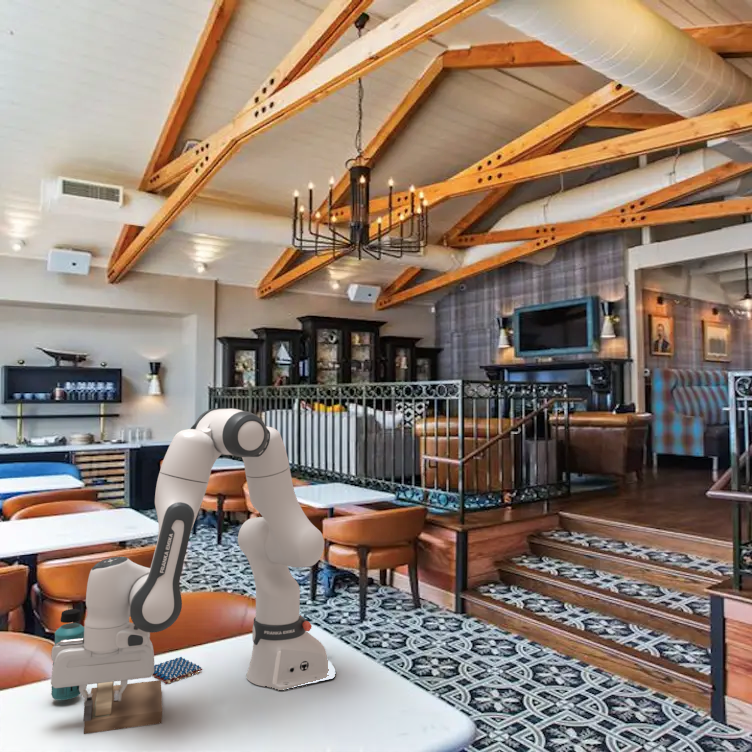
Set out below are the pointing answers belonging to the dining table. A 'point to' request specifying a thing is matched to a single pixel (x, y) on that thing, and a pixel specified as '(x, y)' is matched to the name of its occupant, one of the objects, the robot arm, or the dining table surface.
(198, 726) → the dining table surface
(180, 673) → the woven mat
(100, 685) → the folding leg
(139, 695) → the brown wooden box
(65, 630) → the beverage bottle
